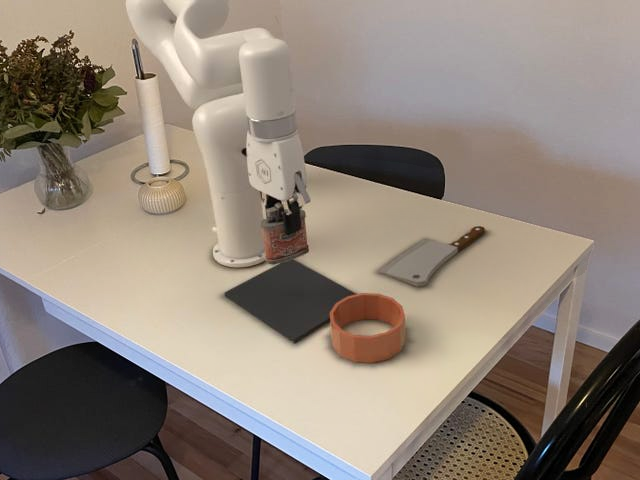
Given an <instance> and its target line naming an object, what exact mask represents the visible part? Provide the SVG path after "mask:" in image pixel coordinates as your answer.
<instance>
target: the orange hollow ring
mask: <svg viewBox="0 0 640 480" xmlns="http://www.w3.org/2000/svg"><path fill="white" fill-rule="evenodd" d="M361 320H379V321H382V322H385V323H387V324H390V325H392V326H393V327H392V328H390V329H389V330H387V331H384V332H381V333H377V334H373V335H367V334H366V335H365V334H362V335H361V334H354V333H351V332H349V331H346V330H344V329H342V328H343V327H345V326H347V325H348V324H350V323H353V322H357V321H361ZM329 324H330V337H331V344H332V345H331V346H332V349H334V350H335V351H336V352H337V354H338V355H340V357H342V358H344V359H347V360H349V361H352V362H354V363H365V364H366V363H367V364H375V363H378V362H382V361H385V360H390V359H391V358H392V357H394V356H395V355H397V354H398V353H400V352H401V351H402V349H403V347H404V344H405V342H406V314H405V310H404V307H403V305H402V304H401V303H399V301H397V300H396V299H395V298H393V297H390V296H388V295H385V294H381V293H376V292H375V293H374V292H360V293H356V295H352V296H348V297H346V298H344V299H342V300H341V301H339V302H337V303H336V304H335V305H334V307H333V308H332V310H331V312H330V323H329Z"/></svg>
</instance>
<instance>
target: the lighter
mask: <svg viewBox="0 0 640 480" xmlns="http://www.w3.org/2000/svg"><path fill="white" fill-rule="evenodd" d="M289 202H290V204H291V203H292V202H294V200H293V199H291V200H289ZM284 213H285V211H284V206H283V203H282V204H281V203H276V204H275V205H274V207H272V208H269V209H266V211H265V216H266V215H267V219H266V218H265V219H264V220H263V221H261V228H262V229H263V236H264V244H265V251H266V256H265V259H266V260H265V263H266V264H267V265H273V266H276V265H278V264H280V263H283V262H287V261H290V260H293V259H294V260H295V259H298V258H301V257H303V256H305V255H306V254H308V253H309V252H310V246H309V243H308V236H307V225H306V217H307V215H306V211H305V210H304V209H301V210H300V218H301V229H300V230H299V231H297V232H295V233H293V234H291V235H289V236H288V235H286V234H285V231H284V223H283V214H284Z"/></svg>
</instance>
